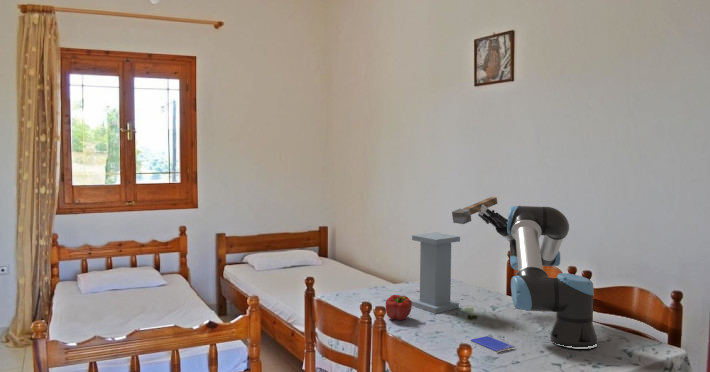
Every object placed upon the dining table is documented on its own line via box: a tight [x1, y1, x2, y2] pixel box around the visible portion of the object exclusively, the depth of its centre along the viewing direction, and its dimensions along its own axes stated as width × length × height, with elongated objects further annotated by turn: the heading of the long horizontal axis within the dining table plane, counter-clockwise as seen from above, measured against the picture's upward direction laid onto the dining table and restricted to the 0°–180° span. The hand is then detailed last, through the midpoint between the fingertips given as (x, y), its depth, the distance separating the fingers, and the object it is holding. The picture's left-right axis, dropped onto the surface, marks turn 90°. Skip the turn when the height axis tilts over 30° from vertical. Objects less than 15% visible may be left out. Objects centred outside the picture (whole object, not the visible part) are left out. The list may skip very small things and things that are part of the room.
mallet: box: [451, 196, 498, 225], centre depth 254 cm, size 25×6×5 cm, turn 127°
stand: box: [411, 232, 461, 314], centre depth 240 cm, size 14×14×30 cm
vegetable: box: [385, 294, 413, 321], centre depth 223 cm, size 11×10×10 cm
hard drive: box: [470, 335, 515, 354], centre depth 194 cm, size 2×8×12 cm
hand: (478, 206), depth 254 cm, fingers closed on mallet, 3 cm apart
